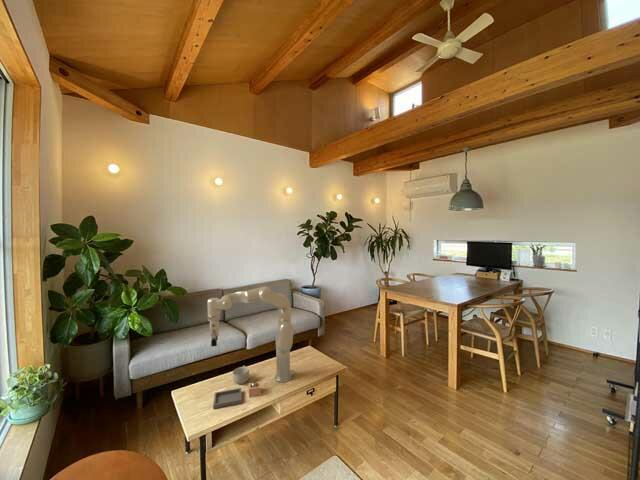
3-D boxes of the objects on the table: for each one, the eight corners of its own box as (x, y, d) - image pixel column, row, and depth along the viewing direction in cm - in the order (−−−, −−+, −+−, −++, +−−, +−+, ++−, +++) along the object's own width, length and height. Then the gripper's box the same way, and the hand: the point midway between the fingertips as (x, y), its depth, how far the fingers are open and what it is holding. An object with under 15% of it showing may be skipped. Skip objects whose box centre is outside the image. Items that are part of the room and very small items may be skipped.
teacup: (244, 386, 179) (244, 375, 178) (229, 385, 181) (229, 373, 181) (253, 375, 192) (253, 364, 192) (240, 374, 195) (239, 363, 194)
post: (256, 391, 174) (256, 381, 173) (256, 393, 171) (256, 383, 170) (251, 392, 173) (251, 382, 172) (252, 394, 170) (251, 384, 170)
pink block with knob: (259, 388, 176) (259, 381, 176) (260, 395, 169) (260, 387, 169) (248, 390, 174) (248, 383, 174) (249, 397, 167) (248, 389, 167)
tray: (241, 391, 173) (241, 387, 173) (241, 403, 161) (241, 399, 161) (214, 396, 169) (214, 392, 169) (213, 409, 156) (213, 405, 156)
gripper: (219, 320, 167) (220, 347, 168) (220, 312, 184) (221, 337, 184) (206, 322, 165) (207, 349, 165) (208, 314, 181) (209, 338, 182)
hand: (214, 343), depth 175 cm, fingers open, 9 cm apart
